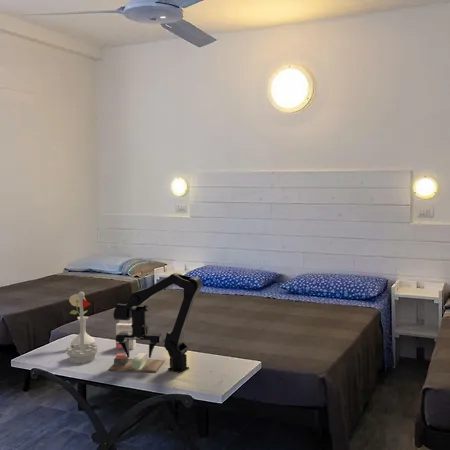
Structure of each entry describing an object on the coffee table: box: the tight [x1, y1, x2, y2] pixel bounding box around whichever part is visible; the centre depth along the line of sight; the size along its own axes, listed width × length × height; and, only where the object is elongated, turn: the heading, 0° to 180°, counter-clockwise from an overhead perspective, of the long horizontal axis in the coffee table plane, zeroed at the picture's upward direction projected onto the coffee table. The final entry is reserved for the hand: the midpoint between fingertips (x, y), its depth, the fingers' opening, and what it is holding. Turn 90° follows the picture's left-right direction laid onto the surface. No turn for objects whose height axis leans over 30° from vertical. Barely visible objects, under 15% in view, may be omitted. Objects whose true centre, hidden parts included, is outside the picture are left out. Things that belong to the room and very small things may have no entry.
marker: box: [132, 352, 148, 368], centre depth 237 cm, size 11×3×3 cm, turn 173°
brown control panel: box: [107, 355, 165, 373], centre depth 237 cm, size 20×15×3 cm
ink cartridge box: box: [115, 318, 137, 350], centre depth 266 cm, size 9×5×15 cm, turn 84°
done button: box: [115, 352, 127, 359], centre depth 238 cm, size 3×3×2 cm
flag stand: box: [66, 291, 98, 364], centre depth 247 cm, size 13×13×30 cm
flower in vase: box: [68, 293, 96, 347], centre depth 269 cm, size 13×11×25 cm
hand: (139, 357), depth 237 cm, fingers open, 9 cm apart
